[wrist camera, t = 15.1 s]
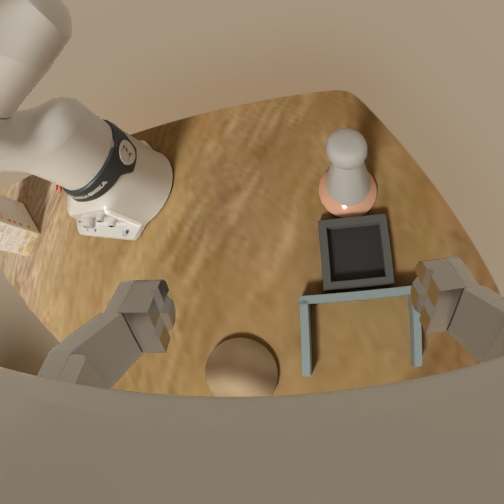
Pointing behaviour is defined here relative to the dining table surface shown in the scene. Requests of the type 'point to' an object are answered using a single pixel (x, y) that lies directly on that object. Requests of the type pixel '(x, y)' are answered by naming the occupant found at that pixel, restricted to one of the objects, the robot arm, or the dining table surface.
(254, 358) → the cork trivet
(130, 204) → the robot arm
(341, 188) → the salt shaker
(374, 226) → the hole frame
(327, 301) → the cubby bay
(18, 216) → the coffeecake box
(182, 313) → the dining table surface
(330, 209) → the coaster
